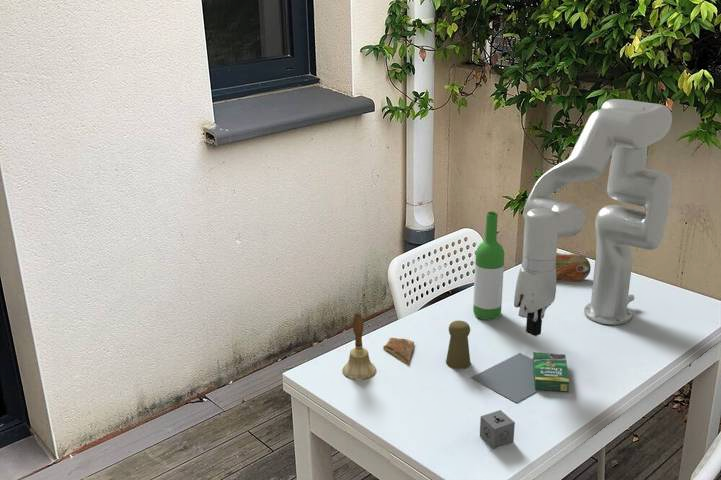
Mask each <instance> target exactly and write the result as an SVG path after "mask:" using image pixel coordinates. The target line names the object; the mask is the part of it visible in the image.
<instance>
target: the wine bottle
mask: <svg viewBox="0 0 721 480" xmlns="http://www.w3.org/2000/svg"><path fill="white" fill-rule="evenodd" d="M485 217H486V218H485V237H484V238H485V239H484V240H483V241H482V242H481V243H480V244H479V245H478V246H477V249H476V252H475V259H474V278H473V281H474V282H473V283H474V284H473V303H472V304H473V307H472V311H473V314H474V315H475V317H476V318H478V319H481V320H482V319H483V320H495V319H498V318H499V317H500V316H501V314H502V306H503V305H502V304H503V290H504V289H503V287H504V286H503V285H504V270H505V266H504V265H505V250H504V248H503V246H502V245H501V244H500V242H498V240H497V237H498V236H497V235H498V233H497V232H498V213H497V212H496V211H488V212H486V216H485Z"/></svg>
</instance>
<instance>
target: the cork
mask: <svg viewBox="0 0 721 480" xmlns="http://www.w3.org/2000/svg"><path fill="white" fill-rule="evenodd" d="M470 333H471V327H470V324H469V323H468V322H466V321H465V320H464V321H463V320H454V321H451V323H450V324H449V326H448V334H449V335H450V337H449V343H448V349H447V353H446V358H445V359H446V360H445V364H446V365H447V367H449V368H452V369H455V370H464V369H467V368H468V367H470V366H471V356H470V347H469V346H470V345H469V338H468V337H469V336H470Z"/></svg>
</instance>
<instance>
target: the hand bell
mask: <svg viewBox="0 0 721 480" xmlns="http://www.w3.org/2000/svg"><path fill="white" fill-rule="evenodd" d="M352 330H353V333H354V337H355V338H354V339H355V340H354V342H355V343H354V345H355V347H354V348H352V349H351V350H350V351H349V357H348V361H347V362H346V363H345V364H344V366H343V367H342V369H341V370H342V374H343V375H344V376H345V377H346V376H347V377H346V378H348V377H349V379H350V378H353V379H352V380H355V379H363V380H366V379H365V378H368V379H370V378H372V377H373V376H375V375H376V373H377V367H376V366H375V365H374V363H372V361H371V359H370V356H369V350H368V349H367V348H365V347H363V339H362V338H363V337H362V336H363V332H364V319H363V317H362V313H361V312H360V311H355V312H354V316H353V319H352ZM374 374H375V375H374Z"/></svg>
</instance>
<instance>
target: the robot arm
mask: <svg viewBox="0 0 721 480" xmlns="http://www.w3.org/2000/svg"><path fill="white" fill-rule="evenodd" d="M672 124H673V114H672V111H671V109H670V108H669V107H667V106H666V105H664V104H660V103H652V102H645V101H639V100H638V101H637V100H631V99H624V98H623V99H622V98H621V99H620V98H613V99H608V100H606V101H604V102H603V103H602V105H601V107H600V109H597V110H595V111H593V112H592V113H591V115H590V116H589V117H588V119H587V121H586V123H585V125H584V127H583V128H582V131H581V132H580V135H579V137H578V139H577V141H576V143H575V145H574V147H573V149H572V150H571V152H570V154H569V156H568V157H567V159H565V160H563V161H562V162H560V163H558V164H556V165H555V166H554V167H552V168H550V169H549V170H547V171H546V172H545V173H543V175H541V177H539V178H538V180H537V181H536V182H535V184H534V186H533V187H532V188H531V191H530V193H529V194H528V197H527V199H526V201H525V204H524V207H523V213H522V214H523V217H522V218H523V220H524V227H523V228H524V232H523V245H522V259H521V268H520V269H519V272H518V274H517V275H518V276H517V279H516V285H515V291H514V301H513V306H514V308H515V309H516V308H517V309H518V308H519V310H518V316H519V317H520V318H526V325H525V326H526V327H525V332H526V333H527V334H530V335H531V336H534V337H537V336H539V335H541V334H542V326H543V325H542V323H543V319H544V317H545V313H546V310H547V308H549V307H551V305H552V304H553V303H554V302H555V299H556V292H557V280H556V267H555V266H556V255H557V253H558V241H559V240H560V239H564V238H570V237H574V236H576V235H577V234H580V232H582V230H583V229H584V227H585V225H586V222H587V215H586V212H585V210H584V209H583V208H582V207H580V206H579V205H577V204H573V203H569V202H565V201H561V200H557V199H553V198H551V196H552V195H553V194H554V193H556V191H558V190H560V189H561V188H563V187H565V186H568V185H573V184H576V183H577V184H578V183H581V182H586V181H589V180H594V179H597V178H598V177H600V176H601V175H602V174H603V173H604V170H605V169H606V166H607V165H608V162H609V161H610V164H609V165H610V166H609V173H608V179H607V187H606V189H607V195H608V197H610V198H611V199H613V200H615V201H617V202H621V203H625V204H629V205H630V204H631V205H634V206H639V207H643V209H644V210H640V209H636V208H632V207H628V206H622V205H619V204H618V205H617V204H608V205H605V206H603V207H602V208H601V209H599V211H598V212H597V214H596V217H595V224H594V225H595V235H596V249H595V250H596V251H595V261H594V269H593V270H594V271H593V281H592V287H591V288H592V290H591V300H590V303H588V304H586V305H585V307H584V309H583V313H584V315H585V316H586V317H587V318H588V319H589V320H591V321H593V322H596V323H597V324H603V325H611V326H612V325H614V326H615V325H616V326H617V325H618V326H619V325H623V324H626V323H628V322H630V321H631V320H632V317H633V313H632V311H631V310H630V309H629V308H628V305H629V303H631V302H634V300H635V299H636V297H635V295H634V294H629V292H630V285H631V284H630V283H631V277H632V267H633V261H634V259H633V252H632V249H631V247H634V248H638V249H642V250H646V251H647V250H648V251H653V250H656V249H658V248H659V247H660V246H661V244H662V242H663V240H664V236H665V232H666V229H667V228H666V227H667V223H668V216H669V211H670V206H671V201H672V200H671V199H672V193H673V184H672V179H671V177H670V176H669V175H668V174H666V173H665V172H662V171H659V170H653V169H648V168H647V167H646V163H647V158H648V157H647V156H648V147H649V146H651V145H653V144H654V143H656V142H658V141H660V140H661V139H663V138H664V137H665V136H666V135H667V134H668V132H669V131H670V129H671V127H672ZM610 158H611V160H610ZM630 246H631V247H630Z"/></svg>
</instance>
